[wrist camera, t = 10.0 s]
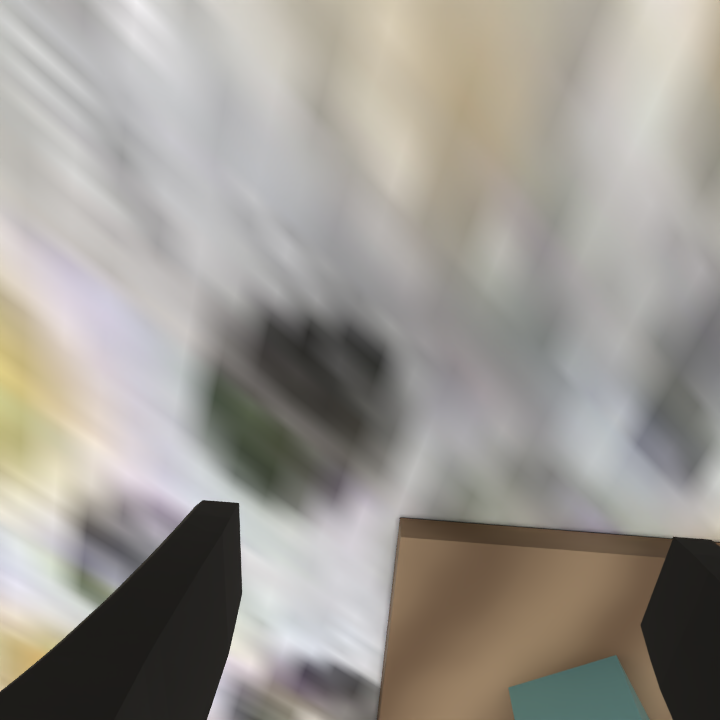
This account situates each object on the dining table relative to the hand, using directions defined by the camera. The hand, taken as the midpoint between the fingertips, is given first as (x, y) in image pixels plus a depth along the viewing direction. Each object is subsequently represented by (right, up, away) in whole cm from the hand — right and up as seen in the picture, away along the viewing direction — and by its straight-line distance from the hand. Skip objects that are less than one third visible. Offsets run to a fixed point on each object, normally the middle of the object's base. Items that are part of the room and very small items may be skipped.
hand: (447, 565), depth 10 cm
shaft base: (+7, -10, +15) cm, 19 cm away
